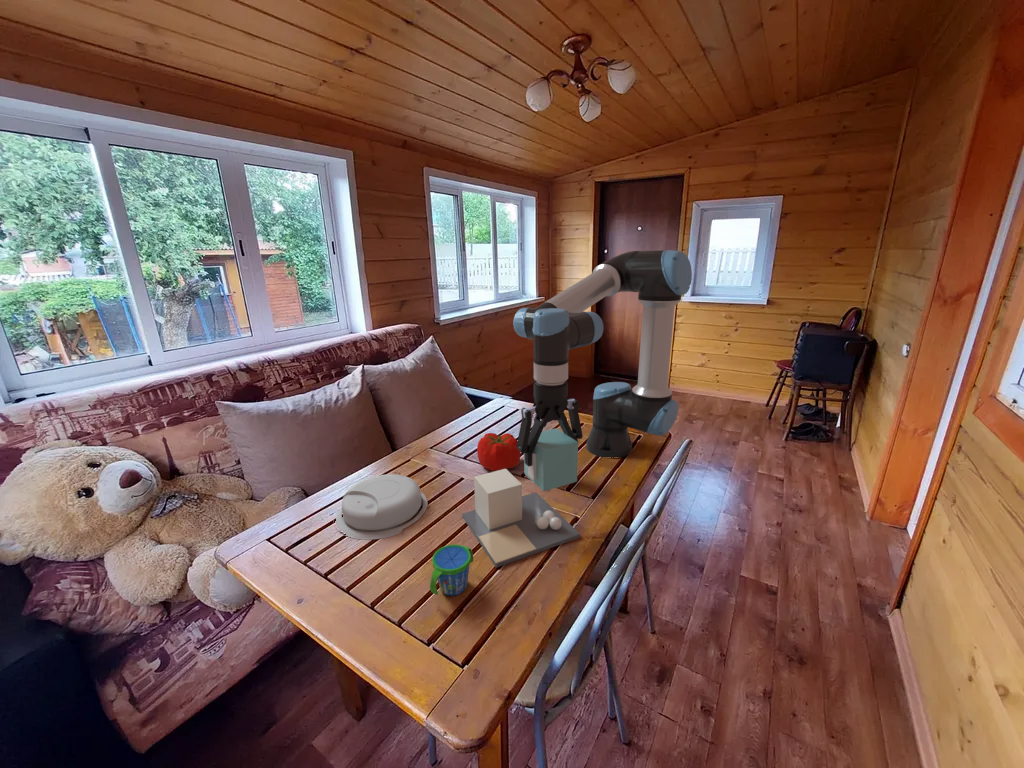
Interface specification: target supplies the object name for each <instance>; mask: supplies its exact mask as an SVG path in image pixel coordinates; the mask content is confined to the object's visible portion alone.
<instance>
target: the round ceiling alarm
mask: <svg viewBox="0 0 1024 768" xmlns="http://www.w3.org/2000/svg"><path fill="white" fill-rule="evenodd" d="M340 506H342V508H341V509H340V511H339V512H338V515H337V518H336V521H335V523H336V525H337V526H338V528H339V529H340V530H341V531H343V532H344V533H345V534H346V535H344V536H345V537H347V536H348V538H350V537H351V539H354V540H355V539H356V540H363V541H367V540H368V541H369V540H371V541H372V540H373V541H374V540H380V539H386V538H390V537H395V536H396V535H398V534H400V533H402V532H404V530H403V529H405V528H408V527H409V526H411V525H413V524H414V523H416V522H417V521H418V520H419V519H421V518H422V517H423V515H424V514H425V513H426V511H427V508H428V499H427V497H426V496H425V494H424V493H423V492H422V491H421V488H420V486H419V484H418V483H417V482H416V481H415V480H414V479H412V478H410V477H408V476H406V475H403V474H393V473H392V474H391V473H388V474H379V475H374V476H371V477H368V478H365V479H362V480H361V481H360V480H359V481H358V482H357V483H356V484H354V485H352V486H351V487H349V489H348V490H347V491H346V492H345V494H344V495H343V497H342V501H341V504H340ZM421 506H422V508H421ZM419 510H420V511H419ZM418 512H419V513H418ZM342 513H343V517H342ZM417 513H418V514H417ZM415 515H416V516H415ZM414 516H415V517H414ZM413 517H414V518H413ZM412 518H413V519H412ZM407 521H408V522H407Z"/></svg>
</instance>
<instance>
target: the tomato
mask: <svg viewBox="0 0 1024 768" xmlns="http://www.w3.org/2000/svg"><path fill="white" fill-rule="evenodd" d="M517 441H518V439H517V438H515V437H514V434H511V433H509V432H508V433H507V432H506V433H504V434H502V435H501V434H499V435H498V434H496V433H493V432H488V433H485V434H484V436H483V437H481V438H480V439H479V441H478V442H477V446H476V447H477V448H476V449H477V450H476V453H477V458H478V462H479V464H480V466H482V467H483V468H484V469H487V470H490V471H491V472H495V471H498V470H502V469H507V470H510V469H514V467H517V466H518V464H519V462H520V459H521V452H520V451H519V450H518V449H517V448H516V446H517Z"/></svg>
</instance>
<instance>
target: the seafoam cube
mask: <svg viewBox="0 0 1024 768" xmlns="http://www.w3.org/2000/svg"><path fill="white" fill-rule="evenodd" d="M534 452H535V453H536V480H533V479H532V478H531V477H530V476H529V475H528V466H527V465H526V464H525V453H523V455H524V456H523V461H524V462H523V463H524V465H523V466H524V467H523V469H524V470H523V471H524V475H525V476H526V477H527V478H528V479H529V480H530V481H531V482H532V483H534V484H535V486H537V487H538V488H539V489H540V490H541V491H543V492H547V491H550V490H553V489H557V488H560V487H564V486H567V485H570V484H574V483H577V482H578V464H579V463H578V459H579V458H578V457H579V456H578V455H579V441H578V442H577V441H576V440H574V439H572V438H571V437H569V436H568V435H566V434H564V432H563V430H560V429H559V428H557V427H556V428H550V429H546V430H542V433H541V435H540V437H539V440H538V442H537V444H536V447H535V449H534Z"/></svg>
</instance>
